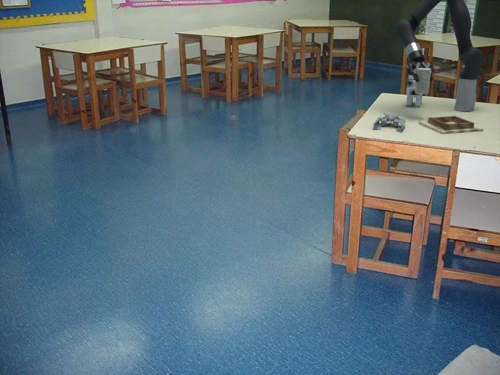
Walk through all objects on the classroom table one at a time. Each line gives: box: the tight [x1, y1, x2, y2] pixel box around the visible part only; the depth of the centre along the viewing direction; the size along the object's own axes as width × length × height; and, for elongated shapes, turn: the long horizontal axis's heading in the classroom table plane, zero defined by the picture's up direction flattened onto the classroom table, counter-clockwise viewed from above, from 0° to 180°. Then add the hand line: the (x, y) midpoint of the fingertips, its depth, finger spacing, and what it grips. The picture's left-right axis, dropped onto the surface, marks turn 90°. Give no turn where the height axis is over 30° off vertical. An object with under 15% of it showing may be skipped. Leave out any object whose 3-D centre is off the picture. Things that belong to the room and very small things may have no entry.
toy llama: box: [405, 74, 424, 108], centre depth 297 cm, size 8×18×20 cm, turn 157°
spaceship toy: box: [373, 112, 407, 133], centre depth 254 cm, size 14×20×6 cm
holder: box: [418, 115, 484, 135], centre depth 254 cm, size 22×20×4 cm
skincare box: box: [415, 68, 431, 95], centre depth 262 cm, size 6×4×12 cm
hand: (424, 80), depth 261 cm, fingers closed on skincare box, 7 cm apart
